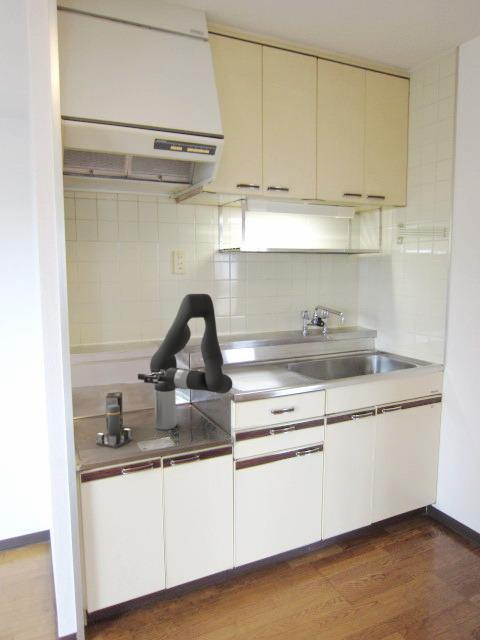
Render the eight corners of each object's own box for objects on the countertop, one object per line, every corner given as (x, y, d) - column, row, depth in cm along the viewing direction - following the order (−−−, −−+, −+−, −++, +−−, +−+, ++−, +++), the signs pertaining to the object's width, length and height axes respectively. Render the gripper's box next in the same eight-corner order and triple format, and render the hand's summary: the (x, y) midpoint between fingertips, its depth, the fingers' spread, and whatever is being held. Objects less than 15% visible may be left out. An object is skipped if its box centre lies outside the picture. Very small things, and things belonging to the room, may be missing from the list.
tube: (113, 436, 189) (112, 404, 188) (123, 438, 187) (122, 405, 186) (105, 440, 185) (104, 407, 183) (115, 442, 183) (114, 408, 181)
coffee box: (121, 433, 196) (120, 397, 194) (106, 434, 195) (105, 397, 193) (123, 426, 205) (122, 391, 203) (108, 427, 204) (107, 392, 202)
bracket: (113, 436, 193) (113, 425, 192) (132, 439, 189) (132, 429, 188) (95, 444, 183) (95, 433, 183) (115, 448, 179) (115, 437, 179)
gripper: (190, 365, 175) (155, 361, 182) (169, 372, 163) (133, 368, 169) (190, 384, 176) (156, 379, 183) (170, 392, 163) (133, 387, 170)
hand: (145, 374), depth 176 cm, fingers open, 8 cm apart
